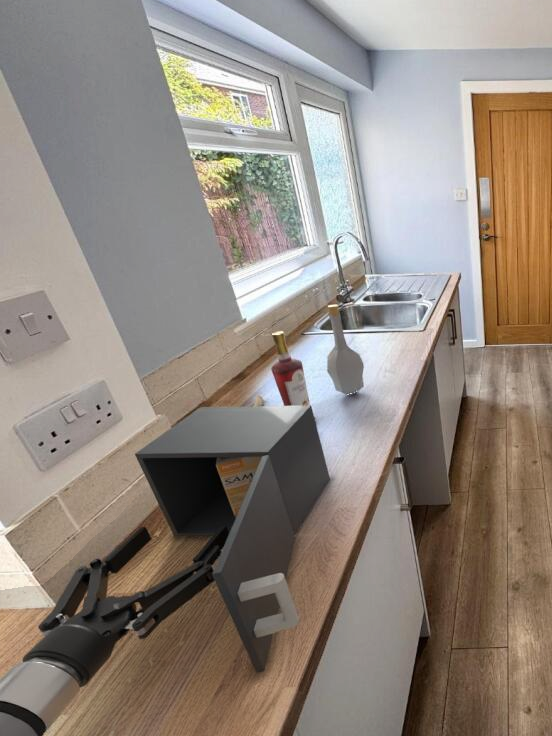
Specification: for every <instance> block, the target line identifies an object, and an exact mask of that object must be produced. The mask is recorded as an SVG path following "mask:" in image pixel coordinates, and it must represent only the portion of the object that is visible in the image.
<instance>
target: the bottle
mask: <svg viewBox="0 0 552 736" xmlns="http://www.w3.org/2000/svg"><path fill="white" fill-rule="evenodd" d="M327 310H328V317H329V320H330V324H331V328H332V333H333V337H334V347H333V348H332V349H331V350H330V352H329V354H328V355H327V357H326V358H327V362H326V363H327V364H326V372H327V374H328V375H329V377H330V378H331V380H332V382H333V387H334V389H335V391H336V392H339V393H341V394H344V395H347V394H349V395H347V396H353V395H355V394H357V393H358V392H359V391H361V390H362V389H363V388H364V387H365V385H364V384H365V383H364V376H363V375H364V368H365V364H364V361H363V359H362V357H361V354H360V353H358V352H357V351H355V350H353V349H352V348H351V347H349V346H348V344H347V341H346V338H345V333H344V329H343V324H342V319H341V318H342V317H341V312H340V311H339V305H338V304H330V305H329V304H328V305H327ZM358 390H359V391H358ZM356 391H358V392H356ZM354 392H355V393H354ZM350 393H352V394H350Z"/></svg>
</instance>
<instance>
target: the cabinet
mask: <svg viewBox="0 0 552 736" xmlns="http://www.w3.org/2000/svg"><path fill="white" fill-rule="evenodd" d="M314 417H315V414H314V411H313V408H312V405H311V404H310V405H306V406H284V405H262V406H253V405H250V406H248V405H247V406H201V407H198V408H197V409H196V410H195V411H193V412H191V413H190V414H188V415H187V416H186V417H185V418H183V419H182V420H180V421H179V422H177V423H176V424H175V425H173V426H172V427H170V428H169V429H167V430H165V432H163V433H162V434H160V435H159V436H157V438H155V439H153V440H152V441H151V442H149V443H148V444H146V445H145V446H144V447H142V448H141V449H140V450H138V451H136V452H135V453H134V457H135V458H136V460H137V462H138V464H139V466H140V468H141V471H142V472H143V475H144V477H145V479H146V481H147V483H148V485H149V487H150V489H151V492H152V493H153V495H154V497H155V499H156V502H157V504H158V506H159V508H160V510H161V512H162V514H163V516H164V518H165V520H166V523H167V525H168V526H169V528H170V531H171V533H172V535H173V537H176V538H177V537H212V536H213V535H214V534H215V533H216V532H217V531H218V529H219V528H220V527H221V526H226V527H227V530H228V532H229V533H230V531H231V529H232V526H233V524H234V522H235V519H236V517H237V516H234V513H233V510H232V508H231V505H230V502H229V500H228V497H227V494H226V491H225V489H224V486H223V484H222V481H221V478H220V475H219V473H218V470H217V467H216V461H217V457H262V456H266V455H269V457H270V461H271V464H272V467H273V470H274V473H275V476H276V479H277V482H278V485H279V488H280V492H281V495H282V498H283V501H284V504H285V507H286V510H287V513H288V516H289V519H290V522H291V526H292V529H293V532H294V535H295V536H296V534H297V533H298V531H299V530H300V529H301V526H302V525H303V523H304V522H305V520H306V519H307V517H308V516H309V514H310V513H311V511H312V509H313V507H314V506H315V504H316V503H317V501H318V500H319V498H320V496H321V495H322V494H323V492H324V490H325V489H326V487H327V486H328V484H329V482H330V481H331V477H330V473H329V469H328V465H327V462H326V461H327V460H326V457H325V453H324V449H323V445H322V442H321V438H320V434H319V431H318V426H317V423H316V417H315V418H314Z"/></svg>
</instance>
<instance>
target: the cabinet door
mask: <svg viewBox="0 0 552 736" xmlns="http://www.w3.org/2000/svg"><path fill="white" fill-rule="evenodd" d="M296 539H297V538H296V534H295V535H294V532H293V529H292V526H291V522H290V519H289V516H288V513H287V510H286V507H285V504H284V501H283V498H282V495H281V492H280V488H279V485H278V482H277V479H276V476H275V473H274V470H273V467H272V464H271V461H270V457H269V455H266V456H262V459H261V461H260V463H259V466H258V468H257V470H256V473H255V475H254V477H253V480H252V482H251V484H250V487H249V489H248V491H247V494H246V496H245V498H244V501H243V503H242V505H241V508H240V510H239V512H238V515H237V517H236V519H235V522H234V524H233V526H232V529H231V531H230V533H229V536H228V538H227V540H226V543H225V545H224V547H223V548H222V550H221V554H220V556H219V557H218V559H217V560H216V564H215V566H214V568H213V573H212V576H213V578H214V580H215V581H214V583H215V584H216V587H217V589H218V591H219V593H220V595H221V598H222V600H223V602H224V604H225V606H226V607H225V608H226V609H227V611H228V613H229V615H230V617H231V620H232V623H233V624H234V627H235V629H236V631H237V633H238V636H239V637H240V640H241V642H242V644H243V646H244V648H245V650H246V653H247V655H248V657H249V659H250V662H251V664H252V666H253V668H254V670H255V673H256V674H259V673H263V672H264V671H265V670H266V667H267V663H268V657H269V654H270V649H271V646H272V645H271V644H272V640H273V637H274V634H275V633H279V632H282V631H286V630H289V629H293V628H295V627H296V626H298V624H299V623H300V621H301V620H300V616H299V613H298V611H297V608H296V604H295V602H294V600H293V597H292V594H291V591H290V588H289V585H288V582H287V576H288V573H289V568H290V563H291V559H292V555H293V551H294V547H295V544H296V543H295V542H296ZM279 610H280V611H281V612H280V613H279Z"/></svg>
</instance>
